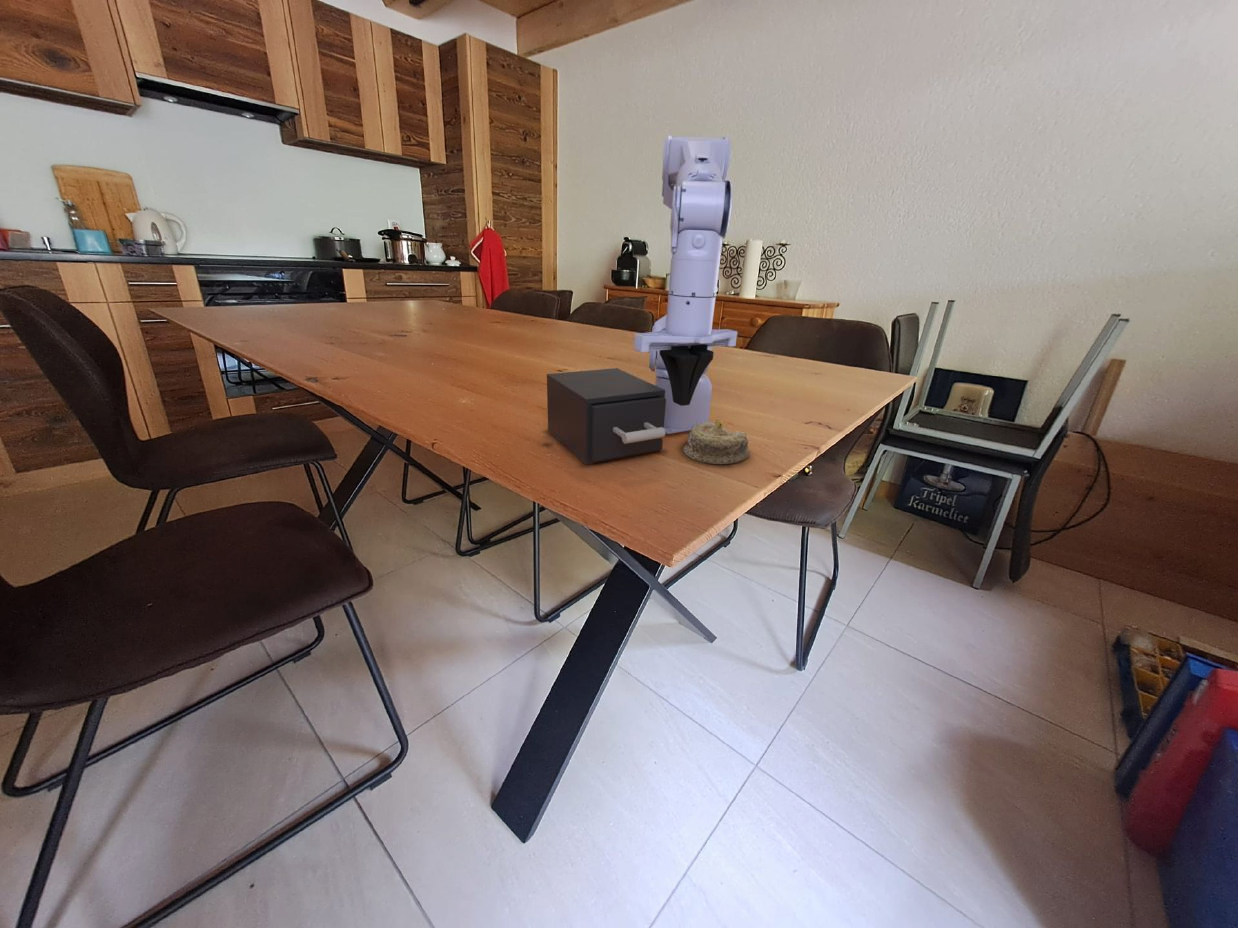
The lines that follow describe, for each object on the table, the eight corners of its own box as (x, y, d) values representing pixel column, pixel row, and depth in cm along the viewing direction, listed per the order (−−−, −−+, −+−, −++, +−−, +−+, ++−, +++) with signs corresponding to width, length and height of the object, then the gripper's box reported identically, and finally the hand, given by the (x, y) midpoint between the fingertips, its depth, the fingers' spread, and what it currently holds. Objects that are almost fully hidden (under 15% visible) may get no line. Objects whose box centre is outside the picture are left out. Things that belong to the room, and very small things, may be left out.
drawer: (678, 460, 67) (684, 407, 63) (607, 474, 62) (609, 417, 58) (618, 421, 81) (620, 376, 78) (556, 430, 76) (555, 382, 72)
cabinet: (660, 451, 72) (665, 390, 68) (585, 465, 66) (586, 399, 62) (615, 421, 83) (617, 368, 79) (547, 431, 78) (546, 373, 74)
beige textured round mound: (728, 475, 66) (731, 440, 64) (670, 456, 72) (671, 423, 69) (760, 450, 73) (764, 418, 70) (704, 435, 79) (706, 404, 76)
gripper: (659, 299, 51) (651, 419, 56) (759, 298, 57) (743, 405, 63) (627, 293, 56) (622, 402, 62) (721, 293, 63) (709, 392, 68)
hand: (681, 403), depth 63 cm, fingers closed
